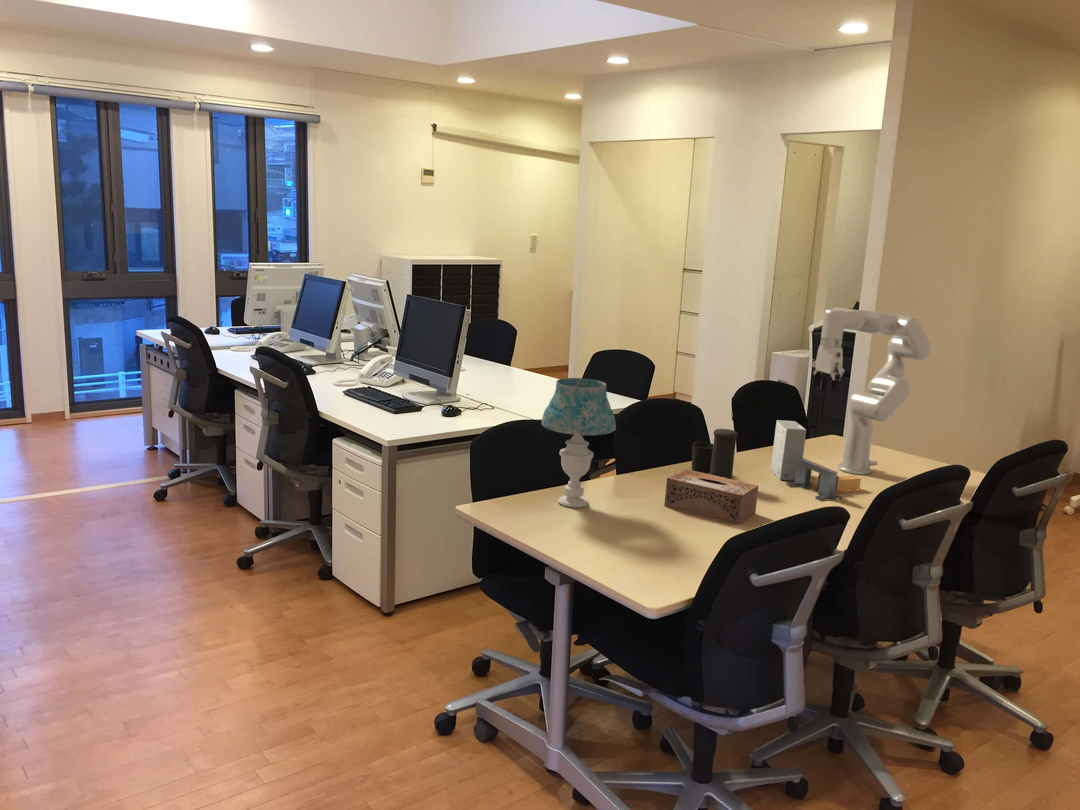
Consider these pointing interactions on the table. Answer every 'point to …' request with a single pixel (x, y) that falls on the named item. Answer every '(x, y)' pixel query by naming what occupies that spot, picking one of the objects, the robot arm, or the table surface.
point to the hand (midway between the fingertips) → (825, 387)
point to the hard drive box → (787, 449)
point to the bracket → (825, 482)
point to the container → (723, 453)
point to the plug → (845, 483)
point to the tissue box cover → (711, 496)
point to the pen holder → (702, 457)
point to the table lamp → (578, 428)
